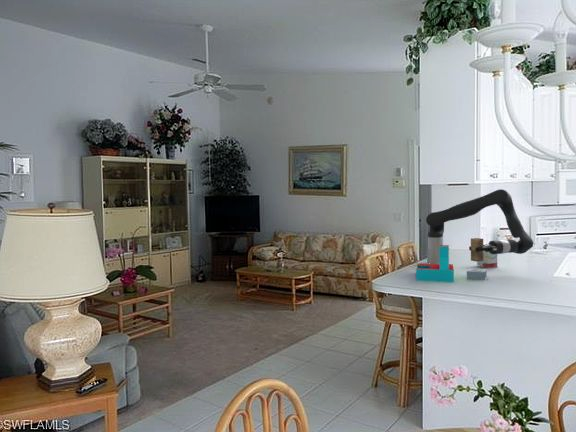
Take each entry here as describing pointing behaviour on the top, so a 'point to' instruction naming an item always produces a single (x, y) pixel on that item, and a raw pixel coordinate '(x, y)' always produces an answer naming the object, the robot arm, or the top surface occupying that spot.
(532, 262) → the top surface
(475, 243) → the pillar
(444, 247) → the building blocks toy
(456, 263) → the top surface
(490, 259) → the ink box
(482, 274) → the plinth
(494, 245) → the robot arm
